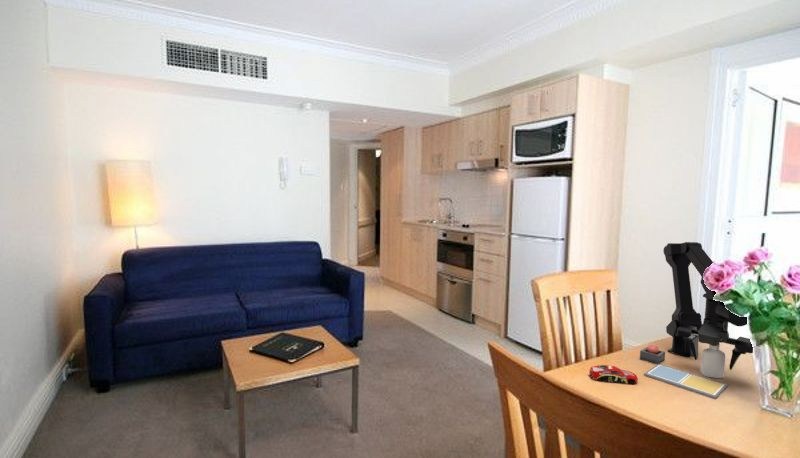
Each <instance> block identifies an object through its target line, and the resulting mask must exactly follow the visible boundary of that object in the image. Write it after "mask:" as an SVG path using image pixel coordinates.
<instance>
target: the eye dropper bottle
mask: <svg viewBox="0 0 800 458" xmlns="http://www.w3.org/2000/svg"><path fill="white" fill-rule="evenodd" d="M708 345H709V348H708V347H707V348H704V349H703V350H702V353H701V354H702V355H701V366H700V373H701V374H702V375H703V376H704V377H707V378H716V379H717V378H719V379H721V378H724V375H725V368H726V367H725V365H726V353H725V352H724V351H722V350H720V342H719V345H718V346H712V345H710V344H708Z"/></svg>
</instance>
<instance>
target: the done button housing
mask: <svg viewBox="0 0 800 458" xmlns="http://www.w3.org/2000/svg"><path fill="white" fill-rule="evenodd" d="M639 360H641V361H644V362H647V361H648V362H647V363H650V362H651V364H654V365H657V364H663V362H665V360H666V351H663V350H660V349H659V350H658V354H653V353H649V352H647V346H646V347H644V348H643V349H641V350H640V351H639Z"/></svg>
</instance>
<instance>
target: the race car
mask: <svg viewBox="0 0 800 458" xmlns="http://www.w3.org/2000/svg"><path fill="white" fill-rule="evenodd" d="M589 376H590V378H592V379H593V380H595V381H600V383H601V382H602V383H606V382H607V383H608V382H609V383H618V384H619V383H620V384H628V385H635V384H637V383H638V381H639V377H638V376H637V374H635V373H634V372H631V371H629V370H625V369H621V368H619V367H617V366H616V365H615V366H614V365H610V364H601V365H600V364H599V365H595V366H591V367H590V369H589Z"/></svg>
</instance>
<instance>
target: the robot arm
mask: <svg viewBox="0 0 800 458" xmlns="http://www.w3.org/2000/svg"><path fill="white" fill-rule="evenodd" d="M662 251H663V254H664V257H665V258H664V259H665V262H666V263H667V264H668V265H669V266H670V268H671V271H672V273H671V274H672V279H673V289H674V290H673V291H674V298H675V309H674V311H673V313H672V315H671V321H670V322H669V323H668V324H667V325H666V327H665V328H666V329H665V330H666V331H665V332H666V333H667V334H668V335H669V336H671V337H672V342H671V343H672V344H671V347H670V348H669V349H668V350H667V352H668V353H670V354H675V355H679V356H683V357H685V358H691V357H692V356H693V359H694V360H695V361H697V360H698V357H699V342H700V343H701V344H707V345H709V344H710V345H712V346H718V345H719V343H721V344H727V345H732V346H734V348H733V349H731V350H732V351H731V353H732V354H731V358H730V363H729V370H730V371H732V370H733V368H734V367H735V364H736V363H737V361H738V360H739V358H740V356H741V355H746V354H747V353H748V354H753V353H754V352H753V347H752V344H751V342H750V339H751V338H749V337H748V338H747V337H744V336H738V338H734V337H730V333H729V329H728V328H729V324H731V325H733V326H735V327H744V326H747V325H748V324H747V317H739V316H737V315H735V314H733V313H731V312H730V311H729V310H727V309H726V308H725V305H724V303H723V302H720V301H715V300H713V297H714V295H715V294H716V292H715V291H711V290H709V289H708V288H707V287H706V285H705V284H704V280H703V273H704V271H705V269H706V268H707V267H709V266H710V265H711V264H712V263H714V261H713V260H712V259H711V257H710V256H709V255H708V254H707V252H706V251H705V249H703V245H702V243H701V242H697V241H685V242H682V243H674V242H672V243H671V242H670V243H667V244H666V245H664V247H663V250H662ZM691 264H692V266H693V267H694V268H695V269H696V270H697V272H698V274H699V275H700V277H701V279H700V284H701V286H702V289H703V290H704V292H705V293H703V294H702V297H703V298H704V299H705V307H704V308H705V309H704V318H703V322H702V314H701V313H699V312H697V311H696V310H695V309H694V305H693V296H692V295H693V294H692V286H691V285H692V284H691V279H690V270H689V267H690V265H691ZM719 346H720V345H719Z"/></svg>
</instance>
